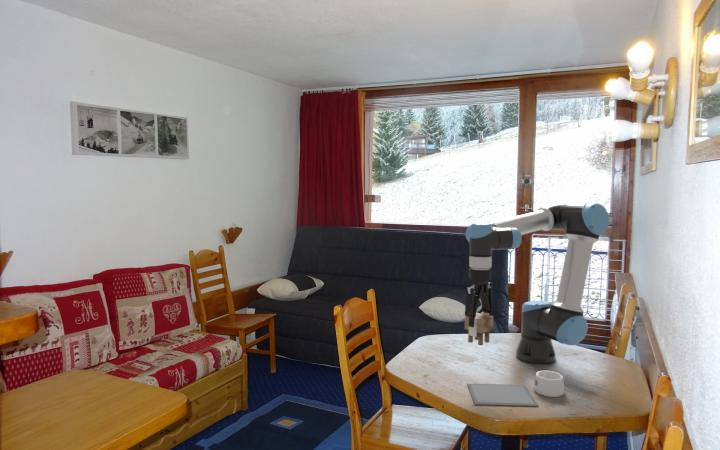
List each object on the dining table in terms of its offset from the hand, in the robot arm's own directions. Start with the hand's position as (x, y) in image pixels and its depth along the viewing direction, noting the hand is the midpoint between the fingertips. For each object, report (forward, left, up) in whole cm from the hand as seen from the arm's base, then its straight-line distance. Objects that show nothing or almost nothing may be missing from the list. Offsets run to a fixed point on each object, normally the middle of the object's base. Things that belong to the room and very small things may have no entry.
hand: (478, 333), depth 173 cm
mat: (-6, +7, -19) cm, 21 cm away
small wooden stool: (0, 0, -3) cm, 3 cm away
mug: (-23, +2, -19) cm, 31 cm away
